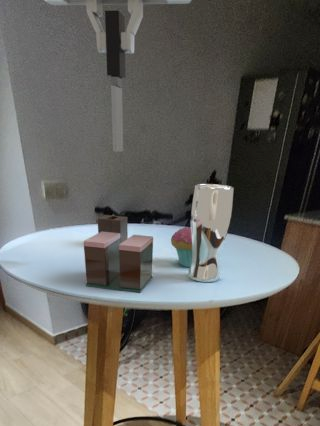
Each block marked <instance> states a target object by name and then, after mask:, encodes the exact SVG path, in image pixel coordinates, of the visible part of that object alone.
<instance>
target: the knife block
mask: <svg viewBox="0 0 320 426" xmlns="http://www.w3.org/2000/svg"><path fill="white" fill-rule="evenodd" d="M97 231H98V232H97V234H98V233H100V232H112V233H120V241H121V243H122V242H124V241H125V240H127V239H128V238H129V236H128V216H122V215H112V214H111V215H110V214H104V215H102V216H100V217H98V218H97Z"/></svg>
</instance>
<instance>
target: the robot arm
mask: <svg viewBox="0 0 320 426" xmlns="http://www.w3.org/2000/svg"><path fill="white" fill-rule="evenodd" d="M43 1H44V2H45V3H47V4H48V5H51V6H85V7H86V9H85V10H86V14H87V17H88V19H89V21H90V23H91V26H92V28H93V30H94V32H95V37H96V38H95V39H96V50H97V52H98V53H99V54H106V31H105V30H104V28H103V24H102V23H101V20H100V18H102V17H103V15H104V14H103V6H105V5H108V6H110V5H127V12H128V14H130V18H129V21H128V23H127V27H126V28H125V32H120V41H121V43H120V50H121V52H123V53H125V54H135V36H136V35H137V32H138V30H139V28H140V25H141V22H142V20H143V18H144V5H187V4H190V3H191V2H192V1H193V0H43Z"/></svg>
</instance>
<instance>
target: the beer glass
mask: <svg viewBox="0 0 320 426" xmlns="http://www.w3.org/2000/svg"><path fill="white" fill-rule="evenodd" d="M234 189H235V187H234V186H232V185H226V184H215V183H196V184H195V185H194V191H193V194H192V195H193V197H192V202H191V210H190V227H191V240H192V260H191V265H190V267H189V269H188V273H187V277H188V278H189V279H190V280H192V281H195V282H200V283H215V282H218V281H219V280H220V278H221V257H222V253H223V249H224V247H225V242H226V239H227V237H228V233H229V228H230V225H231V219H232V212H233V202H234Z"/></svg>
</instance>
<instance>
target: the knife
mask: <svg viewBox="0 0 320 426" xmlns="http://www.w3.org/2000/svg"><path fill="white" fill-rule="evenodd" d="M125 20H126V16H125V15H124V14H123V13H122V12H120V10H117V9H116V10H104V24H105V32H106V53H105V56H106V76H107V77H110V94H111V95H110V96H111V99H110V100H111V129H112V131H111V132H112V152H117V153H118V152H124V119H123V118H124V117H123V116H124V115H123V109H124V108H123V79H126V53H123V52H121V50H120V43H121V41H120V32H126V21H125Z"/></svg>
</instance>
